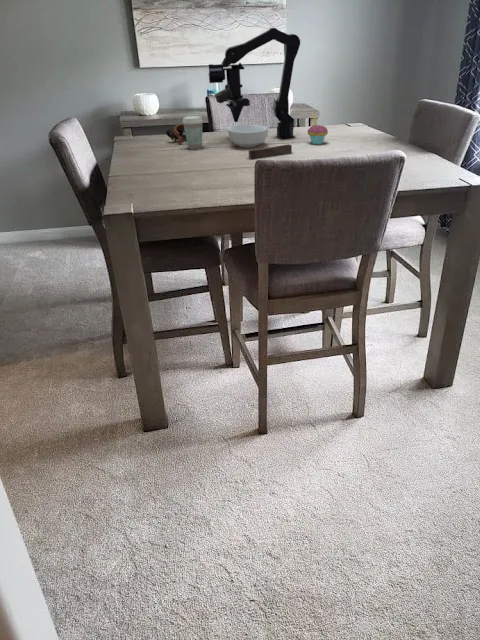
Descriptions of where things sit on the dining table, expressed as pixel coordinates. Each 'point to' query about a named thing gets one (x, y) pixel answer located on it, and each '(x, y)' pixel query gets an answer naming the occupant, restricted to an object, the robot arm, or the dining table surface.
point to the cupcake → (317, 133)
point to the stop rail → (270, 151)
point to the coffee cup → (193, 131)
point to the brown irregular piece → (177, 133)
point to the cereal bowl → (248, 135)
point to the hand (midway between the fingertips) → (235, 122)
